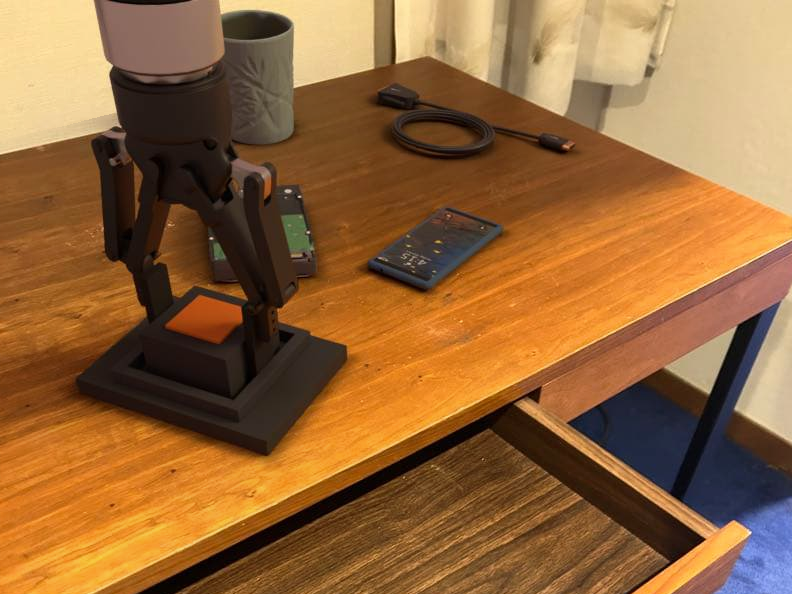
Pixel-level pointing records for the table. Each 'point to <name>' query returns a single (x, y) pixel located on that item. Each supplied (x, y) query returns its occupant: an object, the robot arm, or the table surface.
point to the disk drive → (294, 230)
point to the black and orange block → (201, 343)
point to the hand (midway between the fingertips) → (213, 354)
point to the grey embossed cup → (259, 75)
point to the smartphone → (435, 247)
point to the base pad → (212, 414)
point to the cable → (409, 100)
